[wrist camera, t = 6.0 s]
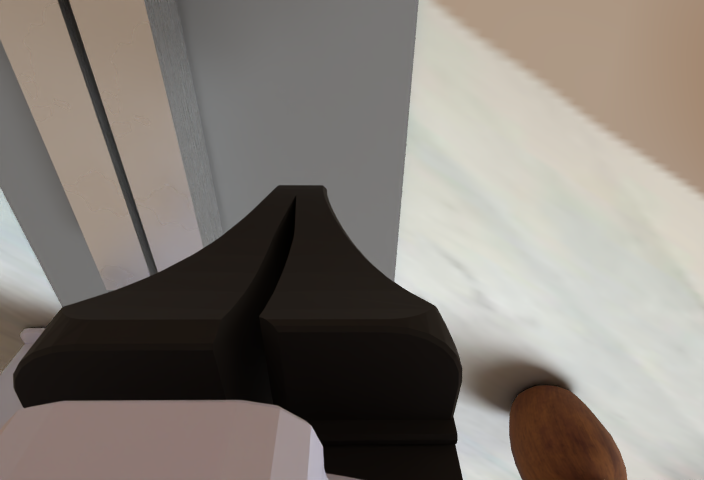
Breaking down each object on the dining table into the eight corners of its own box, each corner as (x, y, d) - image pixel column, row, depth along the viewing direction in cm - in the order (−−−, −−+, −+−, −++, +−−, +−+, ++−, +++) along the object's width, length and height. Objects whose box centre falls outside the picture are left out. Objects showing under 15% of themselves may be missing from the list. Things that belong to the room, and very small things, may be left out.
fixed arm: (176, 253, 24) (156, 290, 21) (131, 253, 24) (105, 291, 21) (47, -206, 13) (-23, -240, 11) (-34, -207, 13) (-123, -242, 11)
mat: (80, 330, 28) (77, 335, 27) (-256, -331, 12) (-273, -339, 12) (389, 330, 28) (389, 334, 28) (443, -317, 12) (446, -324, 12)
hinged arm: (237, 299, 25) (225, 339, 23) (171, 299, 25) (151, 339, 23) (137, -207, 13) (87, -242, 11) (7, -209, 13) (-73, -245, 11)
